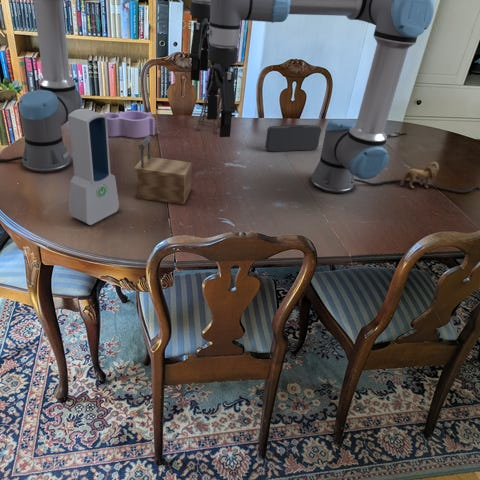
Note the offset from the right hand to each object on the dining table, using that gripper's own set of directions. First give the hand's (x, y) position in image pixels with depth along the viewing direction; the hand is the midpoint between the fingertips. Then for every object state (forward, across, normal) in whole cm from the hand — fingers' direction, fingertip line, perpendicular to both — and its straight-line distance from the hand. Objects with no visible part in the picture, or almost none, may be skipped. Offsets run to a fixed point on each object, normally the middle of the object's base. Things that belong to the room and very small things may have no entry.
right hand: (217, 127), depth 128 cm
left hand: (-6, -32, +2) cm, 33 cm away
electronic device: (+27, -3, -34) cm, 43 cm away
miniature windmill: (+27, -71, +17) cm, 78 cm away
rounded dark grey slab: (+27, -45, +45) cm, 69 cm away
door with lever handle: (+18, -14, -13) cm, 26 cm away
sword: (+27, -54, +97) cm, 114 cm away
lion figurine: (+27, -8, +80) cm, 85 cm away
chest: (+27, -13, -12) cm, 32 cm away
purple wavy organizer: (+27, -68, -17) cm, 75 cm away
